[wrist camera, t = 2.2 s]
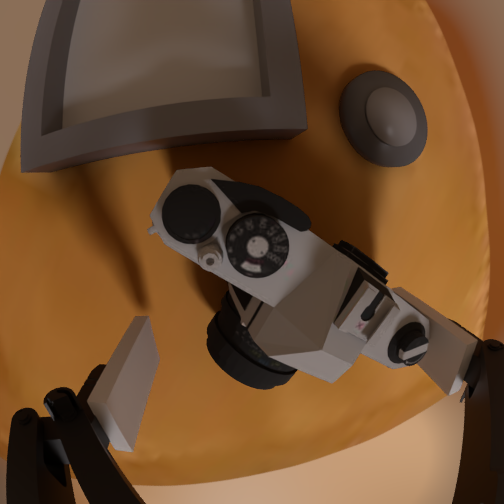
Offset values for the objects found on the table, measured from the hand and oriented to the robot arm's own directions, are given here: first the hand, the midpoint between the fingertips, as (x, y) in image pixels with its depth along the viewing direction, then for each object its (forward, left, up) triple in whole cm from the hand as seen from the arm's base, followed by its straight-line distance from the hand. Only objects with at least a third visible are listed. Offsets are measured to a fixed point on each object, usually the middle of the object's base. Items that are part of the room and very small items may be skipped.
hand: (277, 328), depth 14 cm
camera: (0, +2, -3) cm, 3 cm away
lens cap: (+8, +11, -3) cm, 14 cm away
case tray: (-5, +19, -2) cm, 20 cm away
